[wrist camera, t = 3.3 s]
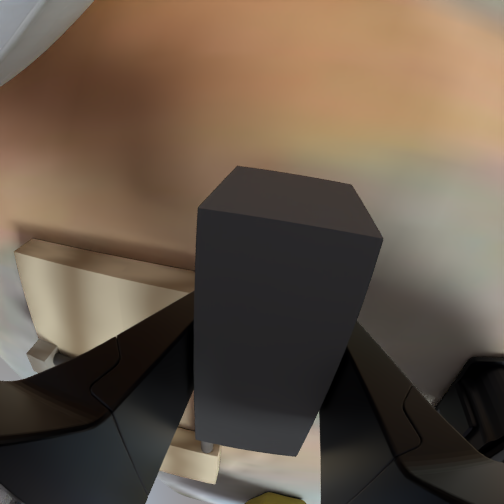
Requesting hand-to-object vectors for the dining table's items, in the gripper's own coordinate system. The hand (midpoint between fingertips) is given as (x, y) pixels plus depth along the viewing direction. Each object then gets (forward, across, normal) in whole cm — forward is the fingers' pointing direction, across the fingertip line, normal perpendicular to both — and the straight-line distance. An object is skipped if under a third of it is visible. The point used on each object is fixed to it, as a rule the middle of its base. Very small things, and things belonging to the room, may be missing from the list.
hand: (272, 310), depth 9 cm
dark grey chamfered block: (+1, 0, 0) cm, 1 cm away
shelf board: (+7, +9, +15) cm, 19 cm away
